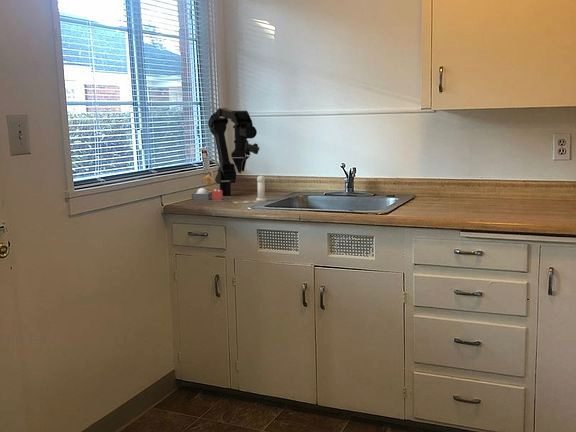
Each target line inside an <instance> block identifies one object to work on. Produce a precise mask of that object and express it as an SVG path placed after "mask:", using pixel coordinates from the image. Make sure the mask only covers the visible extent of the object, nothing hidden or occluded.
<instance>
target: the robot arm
mask: <svg viewBox="0 0 576 432" xmlns="http://www.w3.org/2000/svg"><path fill="white" fill-rule="evenodd" d="M229 120H230V122H232V123H233V124H234V125H232V128H233V129H234V130H233V131H234V140H233V143H234V150H233V151H232V152H231V153H230V155H231V156H229V150H228V146H227V142H226V141H227V140H226V137H225V136H226V135H225V134H226V131H227V125H228V124H229ZM207 125H208V128H209V131H210V133H211V134H212V135H213V136H214V140H215V144H216V150H217V155H218V161H219V166H218V168H217V173H216V176H215V179H214V181H215V182H216V183H217V185H219V190H222V196H223V197H232V196H233V195H234V193H232V184H236V178H237V172H238V173H239V174H241V173H242V172H245V169H246V165H247V164H246V163H247V160H248V159H249V158H250V156H251V153H252V154H255V155H258V153H259V151H260V146H259V144H258V143H253V144H252V143H249V140H250V139H254V138H256V136H257V134H258V133H257V132H258V131H257V128H256V127H255V126H254V124H253V120H252V117H250V114H249V112H248V111H247V110H234V109H229V108H227V107H223V108H221V107H220V108H217V109H216V111H215V112H214V113H213V114H211V116H210V117H209V119H208V122H207ZM248 139H249V140H248ZM230 157H231V159H232V161H233V163H231V160H230ZM215 182H214V183H215ZM216 183H215V184H216Z"/></svg>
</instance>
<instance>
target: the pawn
mask: <svg viewBox="0 0 576 432" xmlns="http://www.w3.org/2000/svg"><path fill="white" fill-rule="evenodd" d="M256 181H257V197H256V198H255V200H256V202H257V201H258V202H257V203H262V202H264V201H266V202H267V198H266V196H265V195H266V192H265V191H266V189H265V188H266V184H265V183H266V177H265V176H264V175H258V176H257V178H256Z"/></svg>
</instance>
